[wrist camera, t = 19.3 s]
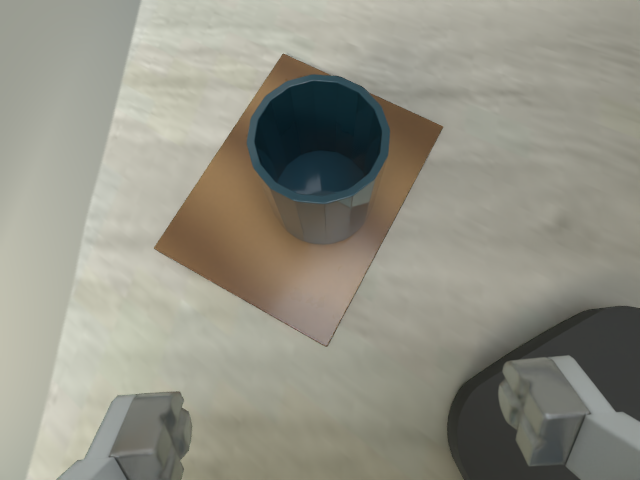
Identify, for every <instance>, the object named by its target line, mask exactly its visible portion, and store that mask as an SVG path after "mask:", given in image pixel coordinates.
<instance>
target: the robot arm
mask: <svg viewBox="0 0 640 480" xmlns="http://www.w3.org/2000/svg"><path fill="white" fill-rule="evenodd" d="M502 372H503V374H504V376H505V379H504V380H503V381H502V382H501V383H500V384H499V390H498V397H499V404H500V407H501V411H502V413H503V416H504V418H505V420H506V422H507V423H508V424H509V425H511V426H512V427H513V428H515V429H516V430H517V435H516V439H515V440H516V442H517V444H518V446H519V448H520V450H521V452H522V454H523V456H524V458H525V460H526V462H527V464H528V466H545V465H562V464H566V467H567V468H568V469H569V470H570V471H571V472H573V473H574V474H575V475H576V476H577V477H578V478H579V479H581V480H640V422H639V421H637V420H636V419H634V418H632V417H631V416H629V415H627V414H626V413H624V412H616V411H615V410H614V409H613V408H612V406H611V405H610V404H609V402H608V401H607V400H606V399H605V397H604V396H603V395H602V394H601V392H600V391H599V390H598V389H597V387H596V386H595V385H594V383H593V382H592V381H591V380H590V378H589V377H588V376H587V375H586V373H585V372H584V371H583V370H582V368H581V367H580V366H579V364H578V363H577V362H576V361H575V359H574V358H572V357H571V356H569V355H567V356H556V357H547V358H546V357H541V358H532V359H522V360H512V361H507V362H506V363H505V364H504V366H503V370H502ZM183 402H184V399H183V397H182V395H181V392H177V391H176V392H160V393H144V394H131V395H118V396H117V397H116V398H115V399H114V400H113V401H112V402H111V404H110V406H109V408H108V410H107V413H106V415H105V417H104V419H103V421H102V423H101V425H100V427H99V429H98V431H97V433H96V435H95V437H94V439H93V442H92V444H91V446H90V448H89V450H88V452H87V454H86V456H85V458H84V460H77V461H76V462H75V463H74V464H73V465H72V466H71V467H69V468H68V469H67V470H66V471H65V472H64V473H63V474H62V475H61V476H59V477H58V478H57V479H56V480H181V479H182V475H183V471H184V468H183V465H182V463H181V461H180V460H181V459H182V458H183V457H184V456H185V454H186V453H187V452H188V451H189V447H190V443H191V437H192V423H191V417H190V414H189V412H188V411H187V410H185V409H183V408H182V405H183Z"/></svg>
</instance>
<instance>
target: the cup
mask: <svg viewBox="0 0 640 480" xmlns="http://www.w3.org/2000/svg"><path fill="white" fill-rule="evenodd" d="M389 141H390V128H389V125H388V122H387V120H386V117H385V114H384V112H383V109H382V106H381V105H380V104H379V103H378V102H377V101H376V100H375V99H374V98H373V97H372V96H371V95H370V94H369V92H368V91H367V90H366V89H365V88H363V87H362V86H360V85H358V84H355V83H353V82H351V81H349V80H347V79H344V78H342V77H339V76H331V75H318V74H313V75H312V74H311V75H307V76H303V77H300V78H296V79H292V80H289V81H287V82H284V83H283V84H282V85H280V86H279V87H277V88H276V89H274V90H273V91H272V92H270V93H269V94H267V95H266V96H265V97H264V98H263V100H262V101H261V103H260V104H259V106H258V107H257V109H256V111H255V112H254V114H253V115H252V117H251V119H250V125H249V130H248V136H247V148H248V151H249V155H250V159H251V163H252V166H253V169H254V171H255V173H256V175H257V178H258V180H259V182H260V184H261V187H262V189H263V191H264V193H265V195H266V198H267V200H268V202H269V204H270V206H271V209H272V211H273V213H274V215H275V217H276V218H277V219H278V221H279V223H280V224H281V225H282V227H283V228H284V229H285V230H286V231H287V232H288V233H290V234H291V235H292V236H294V237H295V238H297V239H299V240H302V241H304V242H307V243H311V244H320V245H325V244H333V243H337V242H340V241H343V240H345V239H347V238H349V237H350V236H352V235H353V234H355V233H356V232H357V231H358V230H359V229H360V228H361V227H362V226H363V224H364V223H365V222H366V220H367V218H368V216H369V214H370V212H371V210H372V208H373V205H374V201H375V198H376V195H377V191H378V188H379V185H380V181H381V178H382V175H383V171H384V168H385V164H386V161H387V158H388V154H389Z"/></svg>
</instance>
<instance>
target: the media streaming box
mask: <svg viewBox="0 0 640 480" xmlns="http://www.w3.org/2000/svg"><path fill="white" fill-rule="evenodd" d="M567 355H569V356H571V357H572V358H574V359H575V361H576V362H577V363H578V364H579V366H580V367H581V368H582V370H583V371H584V372H585V373H586V375H587V376H588V377H589V378H590V380H591V381H592V382H593V383H594V385H595V386H596V387H597V389H598V390H599V391H600V392H601V394H602V395H603V396H604V397H605V399H606V400H607V401H608V402H609V404H610V405H611V406H612V408H613V409H614V410H615V411H616V412H624V413H626V414H627V415H629V416H631V417H632V418H634V419H636V420H637V421H639V422H640V308H636V307H629V306H615V307H607V308H600V309H592V310H587V311H583V312H581V313H579V314H577V315H575V316H573V317H571V318H570V319H568V320H566V321H564V322H562V323H560V324H558V325H557V326H555V327H553V328H551V329H549V330H548V331H546V332H544V333H542V334H541V335H539V336H537V337H535V338H534V339H532V340H530V341H529V342H527V343H525V344H524V345H522V346H520V347H519V348H517V349H516V350H514V351H512V352H511V353H509V354H508V355H506V356H504V357H503V358H501V359H500V360H498V361H497V362H495V363H494V364H492V365H491V366H489V367H488V368H486V369H485V370H483V371H482V372H481V373H479V374H478V375H476V376H475V377H473V378H472V379H471V380H469V381H468V382H466V383H465V384H464V385H463V387H462V388H461V389H460V390H459V392H458V393H457V395H456V397H455V399H454V401H453V403H452V406H451V409H450V412H449V417H448V427H447V431H448V442H449V447H450V451H451V454H452V457H453V459H454V461H455V463H456V465H457V467H458V469H459V471H460V473H461V475H462V477H463V478H464V480H581V479H579V478H578V477H577V476H576V475H575V474H574V473H573V472H571V471H570V470H569V469H568V468H567V467H566V464H562V465H545V466H528V464H527V462H526V460H525V458H524V456H523V454H522V452H521V450H520V448H519V446H518V444H517V442H516V440H515V439H516V435H517V430H516V429H515V428H513V427H512V426H511V425H509V424H508V423H507V422H506V420H505V418H504V416H503V413H502V411H501V407H500V404H499V397H498V390H499V384H500V383H501V382H502V381H503V380H504V379H505V376H504V374H503V372H502V370H503V366H504V364H505V363H506V362H507V361H512V360H522V359H532V358H541V357H546V358H547V357H556V356H567Z"/></svg>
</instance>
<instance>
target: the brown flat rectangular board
mask: <svg viewBox="0 0 640 480" xmlns="http://www.w3.org/2000/svg"><path fill="white" fill-rule="evenodd" d="M311 74H312V75H313V74H318V75H329V74H327V73H325V72H323V71H320V70H318V69H316V68H314V67H312V66H309V65H307V64H305V63H303V62H301V61H298V60H296V59H294V58H292V57H290V56H287V55H285V54H282V56H281V57H280V59H279V60H278V62H277V63H276V65H275V66H274V68H273V70H272V71H271V73H270V74H269V76H268V77H267V79H266V80H265V82H264V83H263V85H262V86H261V88H260V89H259V91H258V92H257V94H256V95H255V97H254V98H253V100H252V101H251V103H250V104H249V106H248V107H247V109H246V110H245V112H244V113H243V115H242V116H241V118H240V119H239V121H238V122H237V124H236V125H235V127H234V128H233V130H232V131H231V133H230V134H229V136H228V137H227V139H226V140H225V142H224V143H223V145H222V146H221V148H220V149H219V151H218V152H217V154H216V155H215V157H214V158H213V160H212V161H211V163H210V164H209V166H208V167H207V169H206V170H205V172H204V173H203V175H202V176H201V178H200V179H199V181H198V182H197V184H196V185H195V187H194V188H193V190H192V191H191V193H190V194H189V196H188V197H187V199H186V200H185V202H184V203H183V205H182V206H181V208H180V209H179V211H178V212H177V214H176V216H175V217H174V219H173V220H172V222H171V223H170V225H169V226H168V228H167V229H166V231H165V232H164V234H163V235H162V237H161V238H160V240H159V241H158V243H157V244H156V246H155V247H154V249H156V250H157V251H159V252H161V253H163V254H164V255H166V256H168V257H170V258H171V259H173V260H175V261H177V262H178V263H180V264H182V265H184V266H185V267H187V268H189V269H191V270H192V271H194V272H196V273H198V274H199V275H201V276H203V277H205V278H206V279H208V280H210V281H212V282H213V283H215V284H217V285H219V286H220V287H222V288H224V289H226V290H227V291H229V292H231V293H233V294H234V295H236V296H238V297H240V298H241V299H243V300H245V301H247V302H248V303H250V304H252V305H254V306H256V307H257V308H259V309H261V310H263V311H264V312H266V313H268V314H270V315H271V316H273V317H275V318H277V319H278V320H280V321H282V322H284V323H285V324H287V325H289V326H291V327H292V328H294V329H296V330H298V331H299V332H301V333H303V334H305V335H306V336H308V337H310V338H312V339H313V340H315V341H317V342H319V343H320V344H322V345H324V346H326V347H327V346H328V344H329V342H330V340H331V338H332V336H333V334H334V333H335V331H336V329H337V327H338V325H339V323H340V321H341V319H342V317H343V315H344V314H345V312H346V310H347V308H348V306H349V304H350V302H351V300H352V298H353V297H354V295H355V293H356V291H357V289H358V287H359V285H360V283H361V281H362V280H363V278H364V276H365V274H366V272H367V270H368V268H369V266H370V264H371V263H372V261H373V259H374V257H375V255H376V253H377V251H378V249H379V247H380V246H381V244H382V242H383V240H384V238H385V236H386V234H387V232H388V230H389V229H390V227H391V225H392V223H393V221H394V219H395V217H396V215H397V213H398V212H399V210H400V208H401V206H402V204H403V202H404V200H405V198H406V196H407V195H408V193H409V191H410V189H411V187H412V185H413V183H414V181H415V179H416V178H417V176H418V174H419V172H420V170H421V168H422V166H423V164H424V162H425V160H426V159H427V157H428V155H429V153H430V151H431V149H432V147H433V145H434V143H435V142H436V140H437V138H438V136H439V134H440V132H441V130H442V128H443V126H441V125H439V124H437V123H434V122H432V121H430V120H428V119H426V118H423V117H421V116H419V115H417V114H415V113H413V112H410V111H408V110H406V109H404V108H402V107H399V106H397V105H395V104H393V103H391V102H388V101H386V100H384V99H382V98H380V97H377V96H375V95H373V94H371V93H369V94H370V95H371V96H372V97H373V98H374V99H375V100H376V101H377V102H378V103H379V104H380V105H381V106H382V109H383V112H384V114H385V117H386V120H387V122H388V125H389V128H390V141H389V154H388V158H387V161H386V164H385V168H384V171H383V175H382V178H381V181H380V185H379V188H378V191H377V195H376V198H375V201H374V205H373V208H372V210H371V212H370V214H369V216H368V218H367V220H366V222H365V223H364V224H363V226H362V227H361V228H360V229H359V230H358V231H357V232H356V233H355V234H353V235H352V236H350V237H349V238H347V239H345V240H343V241H340V242H337V243H333V244H325V245H320V244H311V243H307V242H304V241H302V240H299V239H297V238H295V237H294V236H292V235H291V234H290V233H288V232H287V231H286V230H285V229H284V228H283V227H282V225H281V224H280V223H279V221H278V219H277V218H276V217H275V215H274V213H273V211H272V209H271V206H270V204H269V202H268V200H267V198H266V195H265V193H264V191H263V189H262V187H261V184H260V182H259V180H258V178H257V175H256V173H255V171H254V169H253V166H252V163H251V159H250V155H249V151H248V148H247V136H248V130H249V125H250V119H251V117H252V115H253V114H254V112H255V111H256V109H257V107H258V106H259V104H260V103H261V101H262V100H263V98H264V97H265V96H266V95H267V94H269V93H270V92H272V91H273V90H274V89H276V88H277V87H279V86H280V85H282V84H283V83H284V82H287V81H289V80H292V79H296V78H300V77H303V76H307V75H311Z"/></svg>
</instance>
